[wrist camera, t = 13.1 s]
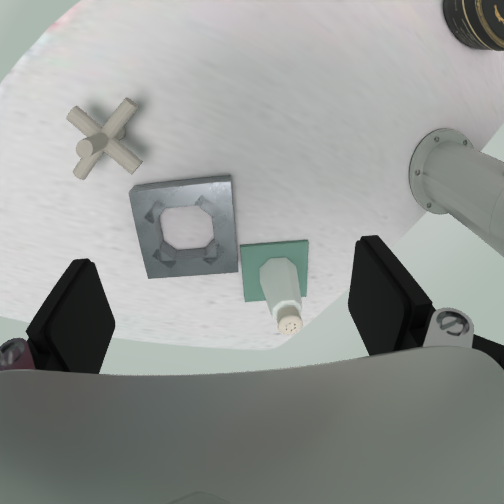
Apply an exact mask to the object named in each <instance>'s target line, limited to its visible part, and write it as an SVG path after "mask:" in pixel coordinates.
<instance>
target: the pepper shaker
mask: <svg viewBox="0 0 504 504" xmlns="http://www.w3.org/2000/svg"><path fill="white" fill-rule="evenodd" d="M259 270H260V284H261V286H262V289H263V292H264V295H265V298H266V301H267V304H268V307H269V310H270V313H271V315H272V317H273V318H274V319H275V320H277V323H278V330H279V331H280V332H281V333H283V334H286V335H291V334H295V333H297V332H298V331H299V330H300V329H301V328H302V326H303V322H302V319H301V317H300V316H301V311H302V301H301V295H300V288H299V281H298V275H297V268H296V266H295V265H294V264H293V263H292V262H291V261H290V260H288V259H287V258H286V257H283V258H270V259H269V260H268V261H267V262H266V263H265V264H264V265H262V266H261V267H260V268H259Z"/></svg>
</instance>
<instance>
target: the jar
mask: <svg viewBox="0 0 504 504" xmlns="http://www.w3.org/2000/svg"><path fill="white" fill-rule="evenodd" d="M444 14H445V18H446V21H447V23H448V25H449V27H450V29H451V30H452V32H453V33H454V34H455V36H456V37H457V38H458V39H459V40H460V41H462V42H463V43H464V44H466V45H468V46H470V47H473V48H476V49H481V50H495V51H504V0H444Z"/></svg>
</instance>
